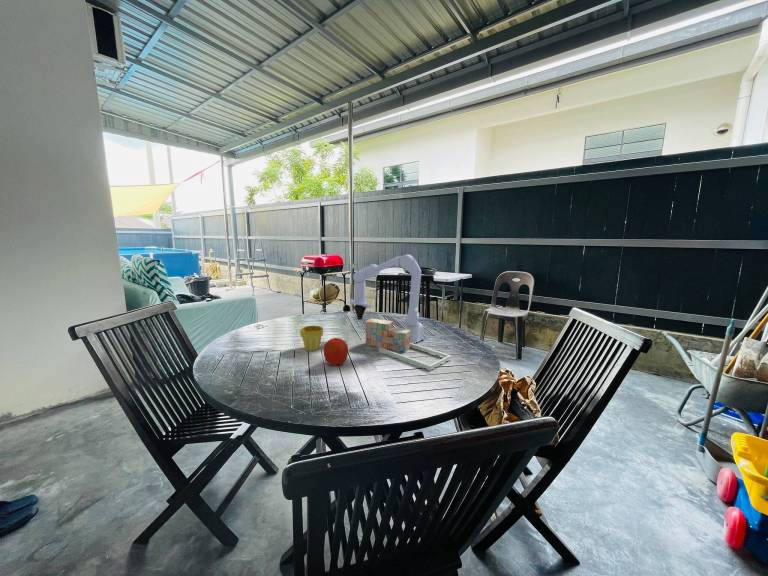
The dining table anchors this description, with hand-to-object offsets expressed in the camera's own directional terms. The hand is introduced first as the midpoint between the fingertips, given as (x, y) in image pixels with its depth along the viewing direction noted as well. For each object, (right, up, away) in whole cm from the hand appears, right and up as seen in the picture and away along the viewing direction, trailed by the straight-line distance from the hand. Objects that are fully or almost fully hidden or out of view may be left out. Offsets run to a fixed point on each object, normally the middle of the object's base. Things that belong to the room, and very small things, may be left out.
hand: (359, 319), depth 162 cm
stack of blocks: (+14, -12, -11) cm, 22 cm away
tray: (+26, -14, -22) cm, 37 cm away
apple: (-8, -16, -32) cm, 36 cm away
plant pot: (-22, -13, -15) cm, 29 cm away
